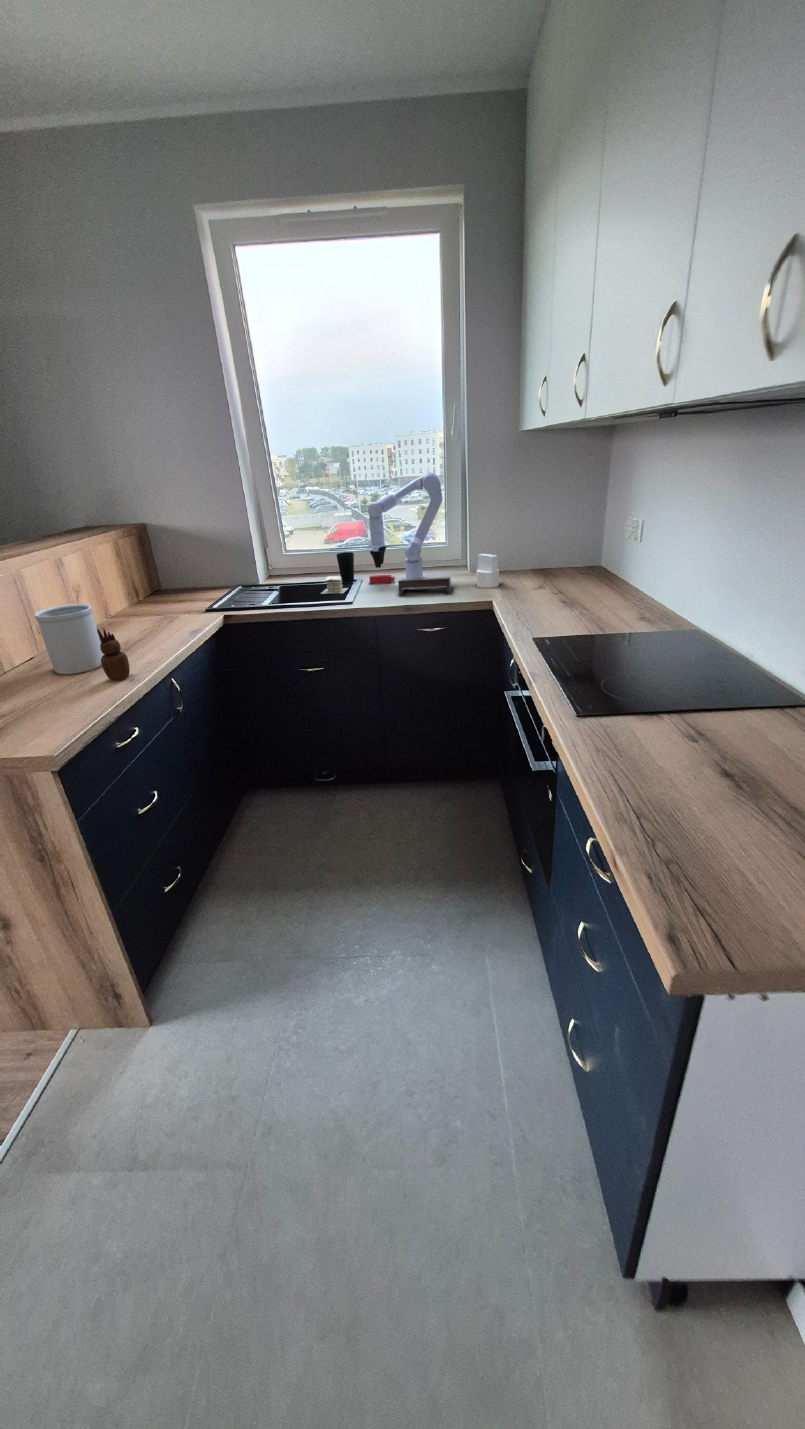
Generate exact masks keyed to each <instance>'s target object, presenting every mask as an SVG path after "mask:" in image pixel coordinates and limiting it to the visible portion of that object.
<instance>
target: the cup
mask: <svg viewBox="0 0 805 1429" xmlns="http://www.w3.org/2000/svg"><path fill="white" fill-rule="evenodd" d="M354 556H355V553H354V552H352V551H344V552H338V553H336V559H337V560H336V561H337V564H338V569H339V575H340V577H341V578H340V580H342V581H341V582H342V583H352V582H355V557H354Z"/></svg>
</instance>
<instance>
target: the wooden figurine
mask: <svg viewBox="0 0 805 1429" xmlns="http://www.w3.org/2000/svg"><path fill="white" fill-rule="evenodd" d="M96 629H97V633H98V637H99V640H100V649H101V651H102V653H103V656H102V658H101V667H102V670H103V672H104V674H105V676H106V677H107V678H108V679H109V680H110V681H114V682H116V681H122V680H125V679H127V678H128V677H129V676H130V672H131V671H130V661H129V658H128V656H127V654H126V653H125V652H123V651H122V646H121V644H120V642H119V640H117V639H116V636H115V635H114V633H110V631H106V629H105V628H103V629H102V632H103V634H102V633H101V631H100V629H99V628H96Z"/></svg>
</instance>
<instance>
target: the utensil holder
mask: <svg viewBox="0 0 805 1429" xmlns="http://www.w3.org/2000/svg"><path fill="white" fill-rule="evenodd" d="M33 616H34V620H36V621H37V624H38V628H39V630H40V633H41V636H42V640H43V643H44V645H45V650H46V651H47V655H48V657H49V660H50V661H51V662H50V663H51V665H52V668H53V671H54V672H55V673H56V674H58V675H74V674H75V675H76V674H80V673H85V672H89V671H92V670H95V669H97V668H100V667H102V665H101V658H102V656H103V655H104V654H103V653H102V651H101V649H100V644H101V641H100V638H99V634H98V631H97V629H98V628H97V626H96V622H95V618H94V615H93V608H92V605H91V604H88V603H87V604H86V603H71V604H62V605H57V606H51V607H47V608H44V609H41V610H38V611H36V612H35V613H34V615H33Z"/></svg>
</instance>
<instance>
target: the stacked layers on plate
mask: <svg viewBox="0 0 805 1429" xmlns="http://www.w3.org/2000/svg"><path fill="white" fill-rule="evenodd" d="M325 581H326V582H325V583H326V584H327V585H326V588H325V589H324V590H323V591H321V592H320V594H321V595H322V594H323V595H326V594H333V595H334V594H344V593H345V592H346V591H348V590H349V587H347V588H346V587H343V586H344V585H343V582H342V580H341V576H333V575H332V576H326V577H325Z"/></svg>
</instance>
